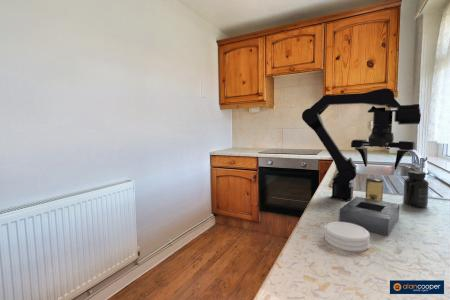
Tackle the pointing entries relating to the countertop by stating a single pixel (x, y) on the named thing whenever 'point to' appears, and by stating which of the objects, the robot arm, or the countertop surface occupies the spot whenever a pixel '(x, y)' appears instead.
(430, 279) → the countertop surface
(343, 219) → the housing
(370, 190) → the tan cylinder
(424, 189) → the supplement bottle
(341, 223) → the white flat disc stack
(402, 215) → the countertop surface
